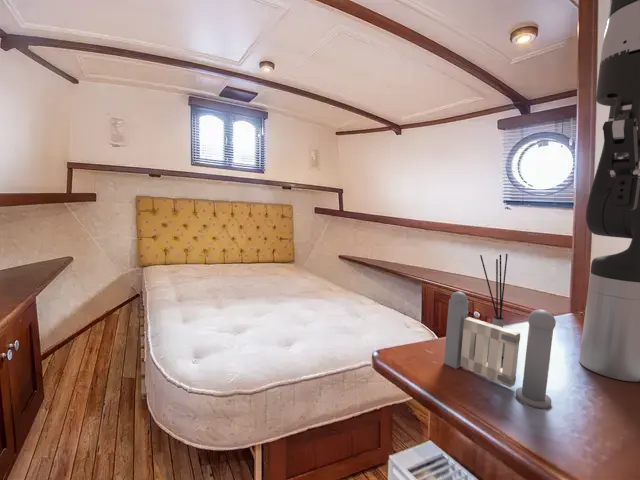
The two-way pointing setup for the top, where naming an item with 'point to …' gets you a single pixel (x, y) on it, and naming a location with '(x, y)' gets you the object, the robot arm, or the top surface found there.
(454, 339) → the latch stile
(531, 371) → the hinge post
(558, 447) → the top surface
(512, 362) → the gate
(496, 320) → the reed diffuser
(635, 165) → the robot arm
